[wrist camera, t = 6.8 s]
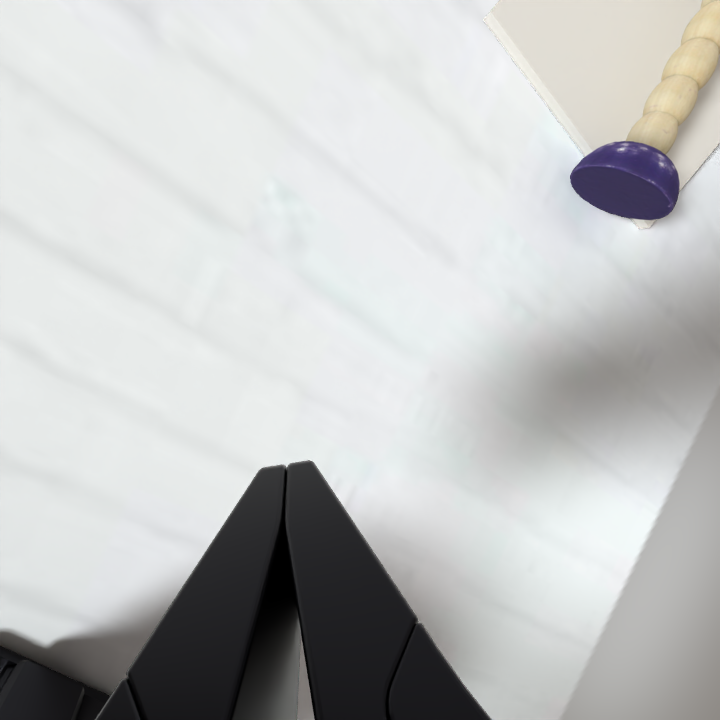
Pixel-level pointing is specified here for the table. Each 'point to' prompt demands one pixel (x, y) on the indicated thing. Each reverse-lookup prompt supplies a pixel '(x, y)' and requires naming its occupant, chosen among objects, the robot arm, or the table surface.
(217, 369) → the table surface
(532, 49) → the felt mat
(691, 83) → the toy lamp
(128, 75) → the table surface
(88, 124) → the table surface
